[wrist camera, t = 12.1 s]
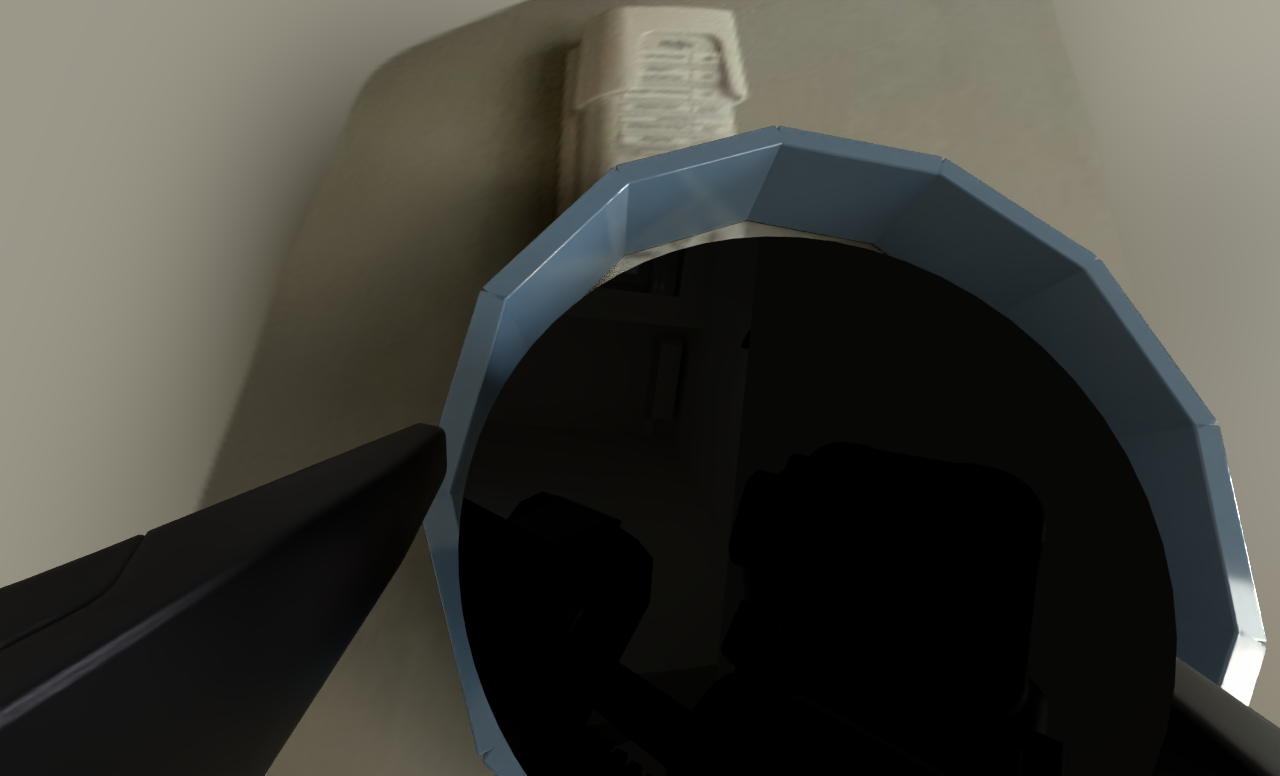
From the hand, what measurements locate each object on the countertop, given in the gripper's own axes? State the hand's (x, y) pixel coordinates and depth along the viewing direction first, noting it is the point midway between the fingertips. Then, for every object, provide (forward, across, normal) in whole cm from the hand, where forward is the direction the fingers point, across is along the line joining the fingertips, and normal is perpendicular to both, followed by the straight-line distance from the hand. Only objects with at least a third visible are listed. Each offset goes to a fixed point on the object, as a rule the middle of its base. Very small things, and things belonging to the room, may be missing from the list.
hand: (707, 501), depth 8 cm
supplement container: (+6, -3, +4) cm, 8 cm away
